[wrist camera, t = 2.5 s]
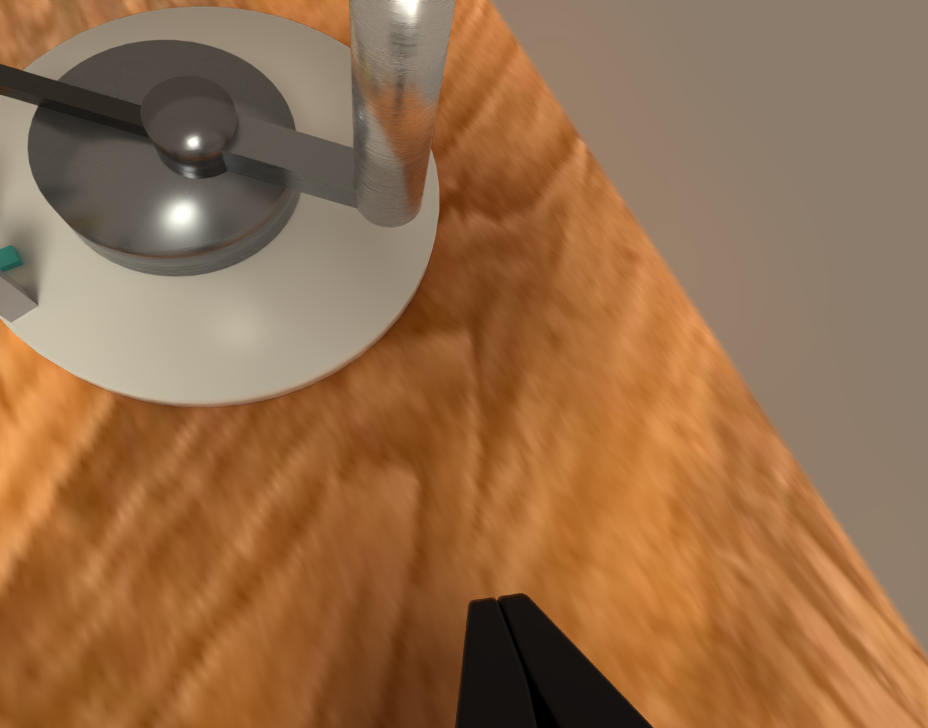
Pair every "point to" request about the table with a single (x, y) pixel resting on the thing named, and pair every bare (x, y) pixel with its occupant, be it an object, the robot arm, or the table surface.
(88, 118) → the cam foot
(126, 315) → the stand
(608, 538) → the table surface
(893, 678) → the table surface
